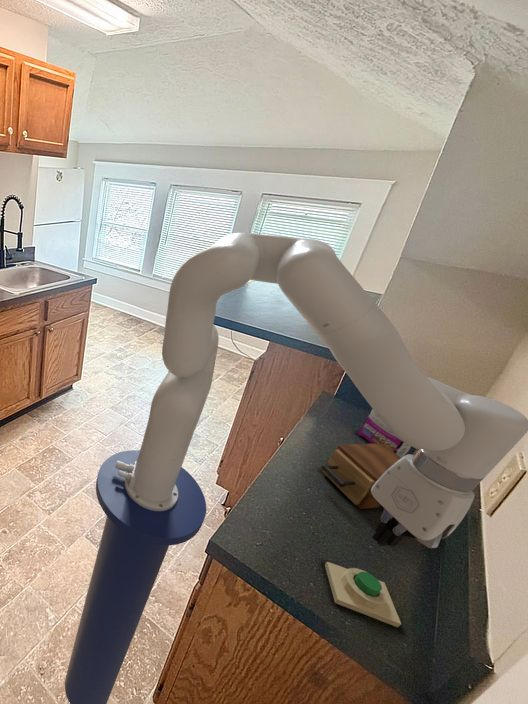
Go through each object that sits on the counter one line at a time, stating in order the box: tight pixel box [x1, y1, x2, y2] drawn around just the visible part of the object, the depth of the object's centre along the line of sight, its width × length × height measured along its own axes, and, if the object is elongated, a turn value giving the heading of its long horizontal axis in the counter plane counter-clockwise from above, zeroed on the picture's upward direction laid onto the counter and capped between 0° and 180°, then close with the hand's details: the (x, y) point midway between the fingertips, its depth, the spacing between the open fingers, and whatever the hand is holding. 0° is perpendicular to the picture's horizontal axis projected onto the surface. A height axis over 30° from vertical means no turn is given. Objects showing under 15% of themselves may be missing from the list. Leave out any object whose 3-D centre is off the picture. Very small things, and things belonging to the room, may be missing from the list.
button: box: [354, 571, 382, 596], centre depth 71 cm, size 4×4×2 cm
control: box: [324, 561, 402, 628], centre depth 72 cm, size 10×8×3 cm
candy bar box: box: [357, 408, 413, 458], centre depth 110 cm, size 11×5×16 cm, turn 12°
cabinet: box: [335, 443, 401, 510], centre depth 95 cm, size 14×12×10 cm
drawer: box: [320, 449, 375, 506], centre depth 95 cm, size 17×10×8 cm, turn 99°
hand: (382, 541), depth 68 cm, fingers closed
